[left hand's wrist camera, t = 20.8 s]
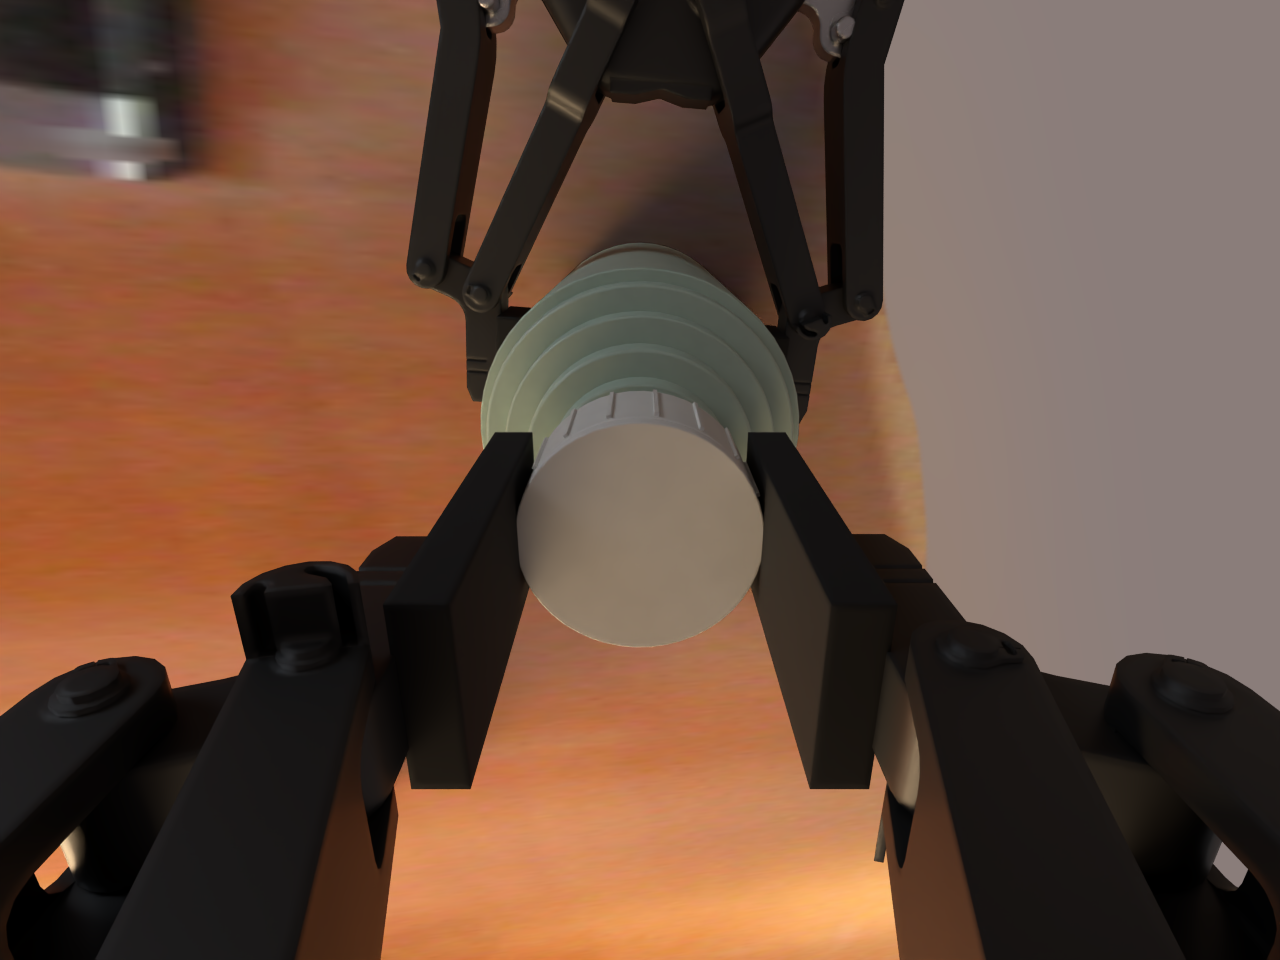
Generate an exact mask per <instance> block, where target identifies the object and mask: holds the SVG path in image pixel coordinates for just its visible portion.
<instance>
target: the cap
mask: <svg viewBox="0 0 1280 960" xmlns="http://www.w3.org/2000/svg"><path fill="white" fill-rule="evenodd" d="M532 469H533V471H532V474H531V476H530V478H529V481H528V483H527V486H526V488H525V491H524V493H523V496H522V499H521V502H520V505H519V507H518V512H517V534H518V548H519V561H520V568H521V570H522V572H523V575H524V577H525V580H526V582H527V583H528V585H529V587H530V588H531V590H532V592H533V594H534V595H535V596H536V597H537V599H538V600H539V601H540V603H541V604H542V605H543V606H544V607H545V608H546V609H547V610H548V611H549V612H550V613H551V614H552V615H553V616H554V617H556V618H557V619H558V620H559V621H561V622H562V623H563V624H565V625H566V626H568V627H570V628H571V629H573V630H575V631H576V632H578V633H580V634H583V635H585V636H587V637H589V638H592V639H595V640H598V641H601V642H604V643H608V644H613V645H618V646H627V647H654V646H661V645H667V644H671V643H675V642H679V641H682V640H685V639H688V638H690V637H693V636H695V635H697V634H699V633H701V632H703V631H705V630H707V629H709V628H710V627H712V626H713V625H715V624H716V623H718V622H719V621H721V620H722V619H723V618H724V617H725V616H726V615H728V614H729V613H730V612H731V611H732V610H733V609H734V608H735V607H736V606H737V605H738V603H739V602H740V601H741V600H742V599H743V597H744V596H745V594H746V593H747V591H748V590H749V588H750V587H751V585H752V583H753V581H754V579H755V577H756V575H757V572H758V569H759V566H760V563H761V555H762V541H763V526H764V518H763V513H762V509H761V505H760V502H759V499H758V497H759V496H760V493H759V490H758V488H757V486H756V483H755V481H754V479H753V476H752V474H751V471H750V469H749V467H748V464H747V462H743V460H742V458H741V455H740V453H739V450H738V448H737V446H736V445H735V443H734V441H733V439H732V436H731V434H730V431H729V429H728V428H727V427H726V428H725V429H724V428H723V426H722V425H721V424H720V423H719V422H717V421H716V420H715V419H714V418H713V417H712V416H711V415H710V414H708V413H707V412H705V411H704V410H703V409H701V408H700V407H698V404H697V403H696V402H693V404H692V403H690V402H689V401H686V400H684V399H681V398H678V397H676V396H673V395H669V394H664V393H660V392H657V390H655V389H653V392H651V391H627V392H621V393H614V391H613V392H610V395H608V396H604V397H601V398H598V399H596V400H594V401H592V402H589V403H587V404H585V405H584V406H582V407H580V408H579V409H577V410H576V409H575V408H574V409H573V410H572V411H571V413H570V415H569V416H568V417H567V418H565V419H564V420H563V421H562V422H561V423H560V424H559V425H558V426H557V428H556V429H555V430H554V431H553V432H552V434H551V435H550V437H549V438H547V437H545V438H544V440H543V443H542V445H541V447H540V450H539V452H538V454H537V457H536V459H535V462H534V464H533V466H532Z"/></svg>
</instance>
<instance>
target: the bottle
mask: <svg viewBox="0 0 1280 960" xmlns="http://www.w3.org/2000/svg"><path fill="white" fill-rule="evenodd" d="M653 389H655V390H657V392H660V393H664V394H669V395H673V396H676V397H678V398H681V399H684V400H686V401H689V402H690V403H692V404H693V402H696V403H697V404H698V407H700V408H701V409H703V410H704V411H705V412H707V413H708V414H710V415H711V416H712V417H713V418H714V419H715V420H716V421H717V422H719V423H720V424H721V425H722V426H723V428H724V429H725V428H726V427H727V428H728V429H729V431H730V434H731V436H732V439H733V441H734V443H735V445H736V446H737V448H738V450H739V453H740V455H741V458H742V460H743V462H746V458H747V441H748V432H786V434H787V435H788V437H789V438H790V440H791V441H792V443H793V444H794V446H795V447H796V446H797V440H798V433H799V409H798V400H797V393H796V389H795V385H794V381H793V377H792V373H791V371H790V368H789V366H788V364H787V361H786V359H785V356H784V354H783V352H782V351H781V349H780V347H779V345H778V344H777V342H776V340H775V338H774V337H773V336H772V334H771V333H770V332H769V330H768V329H767V328H766V327H765V325H764V324H763V323H762V321H761V320H760V319H759V318H758V317H757V316H756V315H755V314H754V313H753V312H752V311H750V310H749V309H748V308H747V307H746V306H745V305H744V304H743V303H742V302H741V301H740V300H739V299H738V298H737V297H735V296H734V295H733V294H732V293H731V292H730V291H729V290H728V289H727V288H726V287H724V286H723V285H722V284H721V283H720V282H719V281H718V280H717V279H716V278H715V277H714V276H712V275H711V274H710V273H709V272H708V271H707V270H706V269H705V268H704V267H703V266H701V265H700V264H699V263H698V262H696V261H695V260H693V259H692V258H691V257H689V256H687V255H685V254H683V253H682V252H680V251H677V250H675V249H672V248H669V247H667V246H662V245H658V244H652V243H627V244H622V245H617V246H613V247H611V248H608V249H605V250H602V251H600V252H598V253H596V254H594V255H592V256H591V257H589V258H588V259H586V260H585V261H584V262H582V263H581V264H580V265H578V266H577V267H576V268H575V269H574V270H573V271H572V272H571V273H570V274H569V275H568V276H566V277H565V278H564V279H563V280H562V281H561V282H560V283H559V284H558V285H557V286H556V287H554V288H553V289H552V290H551V291H550V292H549V293H548V294H547V295H546V296H545V297H543V298H542V299H541V300H540V301H539V302H538V303H537V304H536V305H535V306H534V307H533V308H531V309H530V310H529V311H528V312H527V313H526V314H525V315H524V316H523V317H522V318H521V319H520V320H519V321H518V323H517V324H516V325H515V326H514V327H513V329H512V330H511V331H510V332H509V334H508V335H507V337H506V338H505V340H504V342H503V343H502V345H501V347H500V348H499V350H498V351H497V354H496V356H495V358H494V361H493V363H492V365H491V367H490V370H489V373H488V376H487V380H486V384H485V387H484V391H483V398H482V406H481V435H482V442H483V449H484V448H485V447H486V445H487V444H488V442H489V441H490V439H491V437H492V436H493V434H494V433H495V432H532V433H533V450H534V462H535V459H536V457H537V454H538V452H539V450H540V447H541V445H542V443H543V440H544V438H545V437H547V438H549V437H550V435H551V434H552V432H553V431H554V430H555V429H556V428H557V426H558V425H559V424H560V423H561V422H562V421H563V420H564V419H565V418H567V417H568V416H569V415H570V413H571V411H572V410H573V409H574V408H575V409H576V410H577V409H579V408H580V407H582V406H584V405H585V404H587V403H589V402H592V401H594V400H596V399H598V398H601V397H604V396H608V395H610V392H613V391H614V393H621V392H627V391H651V392H653Z"/></svg>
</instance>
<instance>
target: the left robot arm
mask: <svg viewBox="0 0 1280 960" xmlns="http://www.w3.org/2000/svg"><path fill="white" fill-rule="evenodd" d="M746 462H747V464H748V467H749V469H750V471H751V474H752V476H753V479H754V481H755V483H756V486H757V488H758V490H759V493H760V496H759V497H758V499H759V502H760V505H761V509H762V513H763V518H764V526H763V541H762V555H761V563H760V566H759V569H758V572H757V575H756V577H755V579H754V581H753V583H752V585H751V589H752V592H753V596H754V599H755V603H756V606H757V610H758V613H759V616H760V620H761V623H762V627H763V630H764V633H765V637H766V640H767V644H768V647H769V651H770V654H771V657H772V661H773V664H774V668H775V671H776V675H777V678H778V681H779V685H780V688H781V692H782V695H783V699H784V702H785V705H786V709H787V712H788V716H789V719H790V722H791V726H792V729H793V733H794V736H795V740H796V743H797V746H798V750H799V753H800V757H801V760H802V764H803V767H804V770H805V774H806V777H807V781H808V784H809V787H810V789H869V786H870V780H871V773H872V767H873V761H874V754H875V755H876V757H877V760H878V762H879V764H880V767H881V769H882V771H883V774H884V776H885V778H886V781H887V785H886V791H885V797H884V803H883V808H882V814H881V820H880V826H879V832H878V838H877V844H876V851H875V858H874V861H877V862H884V857H885V852H886V853H887V861H888V869H889V877H890V885H891V893H892V901H893V909H894V917H895V925H896V933H897V941H898V949H899V957H900V960H1280V711H1279V710H1277V709H1276V708H1275V707H1273V706H1272V705H1271V704H1270V703H1268V702H1267V701H1266V700H1264V699H1263V698H1262V697H1261V696H1259V695H1258V694H1257V693H1255V692H1254V691H1253V690H1251V689H1250V688H1248V687H1247V686H1245V685H1243V684H1242V683H1240V682H1238V681H1237V680H1235V679H1234V678H1232V677H1230V676H1229V675H1227V674H1225V673H1222V672H1220V671H1218V670H1215V669H1213V668H1210V667H1208V666H1207V665H1205V664H1204V663H1202V662H1199V661H1195V660H1192V659H1188V658H1187V659H1184V657H1180V656H1175V655H1162V654H1152V653H1142V654H1136V655H1129V656H1126V657H1125V658H1123V659H1122V660H1121V661H1119V662H1118V663H1117V664H1116V667H1115V671H1114V674H1113V677H1112V681H1111V684H1110V686H1108V685H1102V684H1097V683H1092V682H1087V681H1081V680H1076V679H1071V678H1065V677H1060V676H1055V675H1051V674H1047V673H1043V672H1040V670H1039V668H1038V666H1037V664H1036V662H1035V660H1034V658H1033V657H1032V656H1031V655H1030V654H1029V652H1028V651H1027V650H1026V649H1025V648H1024V646H1023V645H1021V644H1020V643H1018V642H1017V641H1015V640H1014V639H1012V638H1011V637H1009V636H1008V635H1006V634H1004V633H1002V632H999V631H997V630H994V629H992V628H989V627H987V626H984V625H981V624H976V623H971V622H966V621H965V619H964V618H963V617H962V615H961V614H960V613H959V612H958V610H957V609H956V608H955V607H954V605H953V604H952V603H951V602H950V600H949V599H948V598H947V596H946V595H945V594H944V593H943V591H942V590H941V589H940V588H939V586H938V585H937V584H936V583H933V579H932V578H931V576H930V575H929V574H928V572H927V571H926V570H925V569H922V565H921V564H920V562H919V561H918V560H917V559H916V557H915V556H914V555H913V553H912V552H911V551H910V550H909V549H908V548H907V547H905V546H903V545H902V544H900V543H898V542H897V541H895V540H893V539H892V538H890V537H888V536H887V535H885V534H851V532H850V530H849V529H848V527H847V526H846V524H845V523H844V521H843V520H842V518H841V517H840V515H839V514H838V512H837V510H836V509H835V507H834V506H833V504H832V503H831V501H830V500H829V498H828V497H827V495H826V494H825V492H824V491H823V489H822V487H821V486H820V484H819V483H818V481H817V480H816V478H815V477H814V475H813V474H812V472H811V471H810V469H809V467H808V466H807V464H806V463H805V461H804V460H803V458H802V457H801V455H800V454H799V452H798V451H797V449H796V447H795V446H794V444H793V443H792V441H791V440H790V438H789V437H788V435H787V434H786V432H748V441H747V458H746ZM533 464H534V450H533V433H532V432H495V433H494V434H493V436H492V437H491V439H490V441H489V442H488V444H487V445H486V447H485V448H484V450H483V451H482V453H481V454H480V456H479V457H478V459H477V461H476V462H475V464H474V465H473V467H472V468H471V470H470V471H469V473H468V474H467V476H466V477H465V479H464V481H463V482H462V484H461V485H460V487H459V488H458V490H457V491H456V493H455V494H454V496H453V497H452V499H451V500H450V502H449V504H448V505H447V507H446V508H445V510H444V511H443V513H442V514H441V516H440V517H439V519H438V520H437V522H436V524H435V525H434V527H433V528H432V530H431V531H430V533H429V534H428V536H396V537H394V538H393V539H391V540H390V541H388V542H386V543H385V544H383V545H381V546H380V547H378V548H376V549H375V550H373V551H372V552H371V553H370V554H369V556H368V557H367V558H366V560H365V561H364V562H363V563H362V565H361V566H360V567H359V571H355V570H354V569H353V568H351V567H350V566H348V565H345V564H341V563H336V562H332V561H316V562H304V563H298V564H292V565H287V566H283V567H280V568H277V569H274V570H271V571H268V572H265V573H262V574H260V575H258V576H256V577H255V578H253V579H251V580H249V581H247V582H245V583H244V584H242V585H241V586H240V587H239V588H238V589H237V590H236V591H235V592H234V593H233V594H232V595H231V599H232V603H233V607H234V612H235V616H236V620H237V624H238V628H239V632H240V636H241V640H242V644H243V648H244V652H245V656H246V661H245V663H244V665H243V667H242V669H241V671H240V673H239V675H238V676H234V677H230V678H226V679H221V680H216V681H211V682H205V683H200V684H195V685H190V686H184V687H179V688H174V689H171V685H170V682H169V679H168V675H167V672H166V669H165V667H164V666H163V665H162V664H161V663H159V662H158V661H157V660H155V659H151V658H145V657H138V656H132V657H121V658H108V659H103V660H98V662H96V663H95V662H91V663H87V664H84V665H81V666H79V667H77V668H75V669H74V670H72V671H70V672H67V673H65V674H63V675H60V676H58V677H55V678H54V679H52V680H50V681H49V682H47V683H46V684H44V685H42V686H41V687H39V688H38V689H36V690H34V691H33V692H31V693H30V694H28V695H27V696H26V697H25V698H23V699H22V700H21V701H19V702H18V703H17V704H16V705H14V706H13V707H12V708H10V709H9V710H8V711H7V712H5V713H4V714H3V715H1V716H0V960H380V959H381V951H382V943H383V935H384V927H385V919H386V911H387V903H388V895H389V887H390V878H391V870H392V862H393V854H394V846H395V838H396V830H397V822H398V810H397V803H396V797H395V791H394V783H395V781H396V779H397V776H398V774H399V772H400V769H401V767H402V764H403V762H404V760H405V757H406V758H407V764H408V770H409V777H410V783H411V789H471V786H472V782H473V779H474V775H475V772H476V769H477V765H478V762H479V758H480V755H481V751H482V748H483V745H484V741H485V738H486V734H487V731H488V727H489V724H490V721H491V717H492V714H493V710H494V707H495V704H496V700H497V697H498V693H499V690H500V686H501V683H502V680H503V676H504V673H505V669H506V666H507V662H508V659H509V656H510V652H511V649H512V645H513V642H514V638H515V635H516V632H517V628H518V625H519V621H520V618H521V615H522V611H523V608H524V604H525V601H526V597H527V594H528V591H529V585H528V583H527V582H526V580H525V577H524V575H523V572H522V570H521V568H520V561H519V548H518V534H517V512H518V507H519V505H520V502H521V499H522V496H523V493H524V491H525V488H526V486H527V483H528V481H529V478H530V476H531V474H532V471H533V469H532V466H533ZM1222 842H1223V843H1224V844H1225V845H1226V846H1227V847H1228V848H1229V849H1230V850H1231V851H1232V852H1233V854H1234V855H1235V856H1236V857H1237V858H1238V859H1239V860H1240V861H1241V862H1242V863H1243V864H1244V865H1245V866H1246V867H1247V868H1248V871H1247V873H1246V876H1245V878H1244V880H1243V882H1242V884H1241V885H1240V886H1239V887H1236V886H1235V885H1233V884H1232V883H1231V882H1230V881H1229V880H1228V879H1227V878H1225V877H1224V875H1223V874H1222V873H1221V872H1220V871H1219V870H1218V869H1217V868H1216V867H1215V865H1214V864H1213V862H1214V860H1215V857H1216V855H1217V853H1218V850H1219V848H1220V845H1221V843H1222ZM59 846H61V849H62V851H63V853H64V856H65V858H66V861H67V863H68V866H69V867H68V868H67V869H66V870H65V871H64V872H63V873H62V875H61V876H60V877H59V878H58V879H57V880H56V881H55V882H54V883H52V884H51V885H50V886H49V887H47V888H46V889H45V890H43V889H42V888H41V887H40V885H39V883H38V881H37V879H36V876H35V874H34V872H35V871H36V870H37V869H38V868H39V867H40V866H41V865H42V864H43V863H44V862H45V861H46V860H47V858H48V857H49V856H50V855H51V854H52V853H53V852H54V851H55V850H56V849H57V848H58V847H59Z"/></svg>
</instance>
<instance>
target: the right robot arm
mask: <svg viewBox="0 0 1280 960" xmlns="http://www.w3.org/2000/svg"><path fill="white" fill-rule="evenodd" d="M517 1H518V0H437V7H438V13H439V19H440V25H441V29H440V36H439V43H438V50H437V57H436V64H435V71H434V78H433V85H432V91H431V98H430V105H429V112H428V119H427V126H426V133H425V140H424V147H423V154H422V161H421V167H420V174H419V181H418V188H417V195H416V202H415V209H414V216H413V223H412V230H411V237H410V244H409V250H408V257H407V264H406V266H407V274H408V276H409V278H410V280H411V281H412V282H413V283H414V284H415V285H417V286H419V287H421V288H430V289H433V290H435V291H437V292H440V293H442V294H444V295H446V296H449V297H451V298H452V299H454V300H455V301H457V302H458V303H459V304H460V306H461V307H462V309H463V311H464V313H465V318H466V356H467V388H468V391H469V393H470V395H471V398H472V400H473V401H478V402H482V398H483V391H484V387H485V384H486V380H487V376H488V373H489V370H490V367H491V365H492V363H493V361H494V358H495V356H496V354H497V351H498V350H499V348H500V347H501V345H502V343H503V342H504V340H505V338H506V337H507V335H508V334H509V332H510V331H511V330H512V329H513V327H514V326H515V325H516V324H517V323H518V321H519V320H520V319H521V318H522V317H523V316H524V315H525V314H526V313H527V312H528V311H529V310H530V309H531V308H527V307H514V306H510V307H509V308H508V298H509V297H510V296H511V295H512V293H513V292H511V291H512V289H513V286H514V284H515V282H516V280H517V278H518V276H519V274H520V272H521V270H522V267H523V265H524V263H525V261H526V259H527V257H528V255H529V253H530V251H531V248H532V246H533V244H534V242H535V240H536V238H537V236H538V234H539V231H540V229H541V227H542V225H543V223H544V221H545V219H546V217H547V215H548V212H549V210H550V208H551V206H552V204H553V202H554V200H555V198H556V196H557V193H558V191H559V189H560V187H561V185H562V183H563V181H564V179H565V176H566V174H567V172H568V170H569V168H570V166H571V164H572V162H573V160H574V157H575V155H576V153H577V151H578V149H579V147H580V145H581V143H582V141H583V138H584V136H585V134H586V132H587V130H588V129H589V127H590V126H591V124H592V122H593V121H594V119H595V117H596V115H597V113H598V110H599V108H600V106H601V104H602V102H603V100H604V98H605V96H607V97H609V98H611V99H612V102H620V103H632V104H636V103H641V102H646V101H650V100H655V99H662V100H665V101H667V102H670V103H672V104H675V105H677V106H680V107H682V108H693V109H705V110H706V108H707V107H708V106H711V105H713V108H714V111H715V114H716V118H717V121H718V124H719V128H720V131H721V133H722V136H723V138H724V139H725V142H726V144H727V147H728V151H729V154H730V157H731V161H732V164H733V167H734V171H735V174H736V177H737V181H738V184H739V187H740V191H741V194H742V197H743V201H744V204H745V207H746V211H747V214H748V217H749V221H750V224H751V227H752V231H753V234H754V237H755V241H756V244H757V247H758V251H759V254H760V257H761V261H762V264H763V267H764V271H765V274H766V277H767V281H768V284H769V287H770V291H771V294H772V297H773V301H774V304H775V307H776V311H777V314H778V316H779V319H778V326H777V327H776V326H770V325H765V327H766V328H767V329H768V330H769V332H770V333H771V334H772V336H773V337H774V338H775V340H776V342H777V344H778V345H779V347H780V349H781V351H782V352H783V354H784V356H785V359H786V361H787V364H788V366H789V368H790V371H791V373H792V377H793V381H794V385H795V389H796V393H797V400H798V409H799V423H800V422H801V420H802V418H803V416H804V415H805V413H806V411H807V407H808V401H809V394H810V389H811V382H812V377H813V371H814V365H815V359H816V353H817V347H818V343H819V340H820V338H822V337H823V336H825V335H826V334H827V332H828V331H829V330H830V328H832V327H834V326H837V325H840V324H844V323H847V322H851V321H854V320H860V321H866V320H869V319H872V318H873V317H874V316H876V315H877V314H878V312H879V311H880V309H881V307H882V302H883V179H884V64H885V60H886V57H887V54H888V51H889V48H890V44H891V41H892V38H893V35H894V32H895V28H896V25H897V22H898V19H899V16H900V13H901V9H902V6H903V3H904V0H542V1H543V3H544V5H545V6H546V8H547V10H548V12H549V14H550V15H551V17H552V19H553V21H554V22H555V24H556V26H557V28H558V29H559V31H560V33H561V35H562V36H563V38H564V40H565V42H566V44H567V48H566V50H565V52H564V54H563V57H562V59H561V61H560V63H559V66H558V68H557V70H556V72H555V75H554V77H553V79H552V82H551V84H550V87H549V90H548V94H547V99H546V102H545V104H544V106H543V109H542V111H541V113H540V115H539V118H538V120H537V122H536V124H535V127H534V129H533V131H532V133H531V136H530V138H529V140H528V142H527V145H526V147H525V149H524V151H523V153H522V156H521V158H520V160H519V162H518V165H517V167H516V169H515V171H514V174H513V176H512V178H511V180H510V183H509V185H508V187H507V189H506V191H505V194H504V196H503V198H502V200H501V203H500V205H499V207H498V209H497V212H496V214H495V216H494V218H493V221H492V223H491V225H490V227H489V229H488V232H487V234H486V236H485V238H484V241H483V243H482V245H481V247H480V250H479V252H478V254H477V256H476V259H475V261H471V260H469V259H467V258H465V257H463V252H464V247H465V241H466V235H467V229H468V223H469V218H470V212H471V206H472V200H473V194H474V189H475V183H476V177H477V171H478V165H479V160H480V154H481V148H482V142H483V136H484V131H485V125H486V119H487V113H488V107H489V102H490V96H491V90H492V84H493V78H494V72H495V64H496V34H497V33H502V32H505V31H506V30H508V29H509V28H510V26H511V25H512V24H513V21H514V18H515V10H516V4H517ZM797 11H798V12H800V13H803V14H805V15H806V16H807V17H808V18H809V20H810V21H811V23H812V26H813V46H814V50H815V52H816V54H817V55H818V56H819V57H820V58H821V59H822V60H824V61H827V62H828V64H827V69H826V76H825V84H824V130H825V174H826V218H827V262H828V285H824V286H821V287H819V286H818V283H817V279H816V275H815V272H814V268H813V264H812V261H811V257H810V253H809V250H808V246H807V243H806V239H805V235H804V232H803V228H802V224H801V221H800V217H799V213H798V210H797V206H796V203H795V199H794V195H793V192H792V188H791V184H790V181H789V177H788V174H787V170H786V166H785V163H784V159H783V155H782V152H781V148H780V144H779V141H778V137H777V134H776V130H775V126H774V122H773V115H772V104H771V99H770V95H769V91H768V88H767V84H766V80H765V77H764V73H763V69H762V66H761V62H760V58H761V57H762V56H763V54H764V53H765V52H766V51H767V49H768V48H769V47H770V46H771V44H772V43H773V42H774V40H775V39H776V38H777V37H778V35H779V34H780V33H781V32H782V30H783V29H784V28H785V26H786V25H787V24H788V23H789V21H790V20H791V19H792V18H793V16H794V15H795V14H796V12H797Z"/></svg>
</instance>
